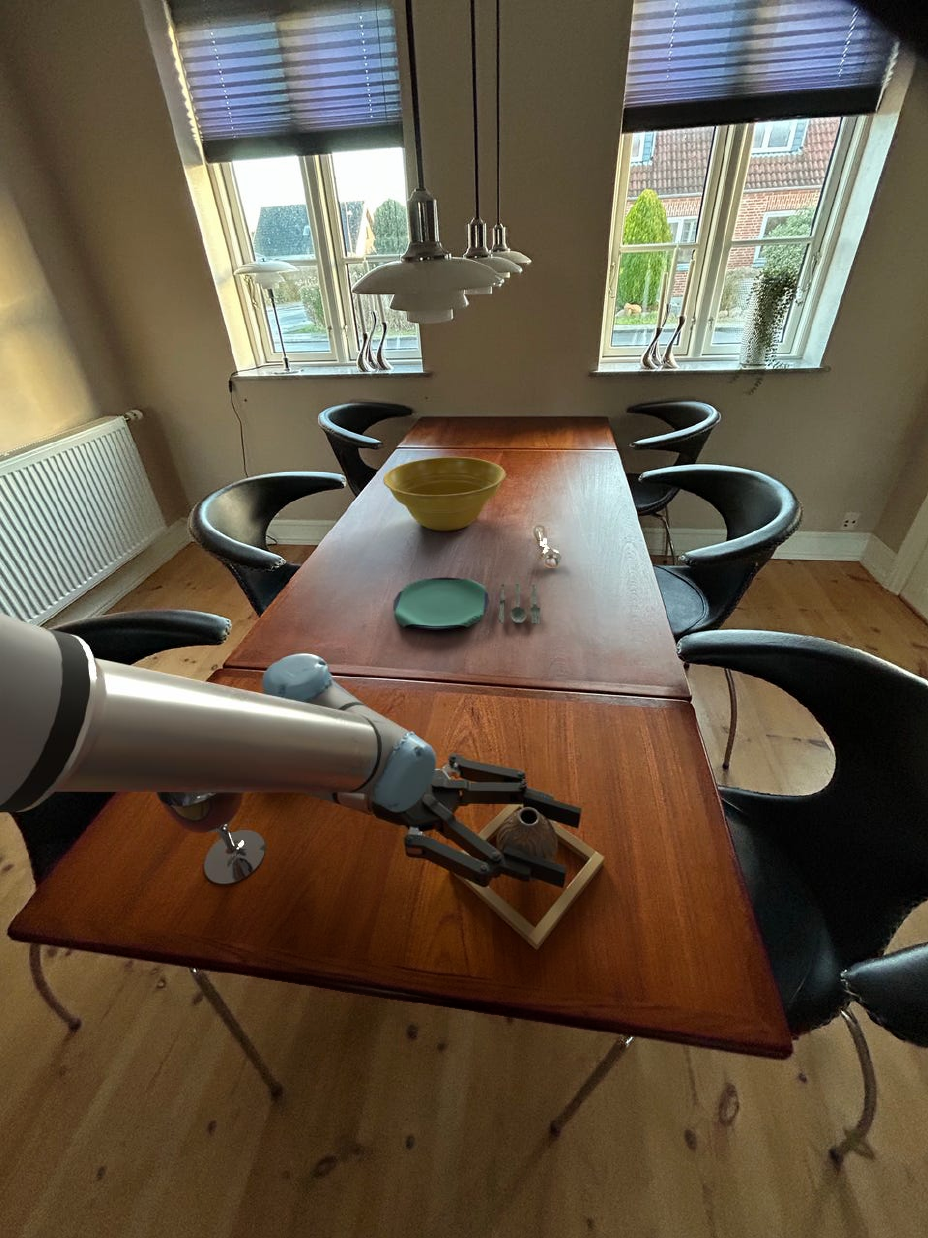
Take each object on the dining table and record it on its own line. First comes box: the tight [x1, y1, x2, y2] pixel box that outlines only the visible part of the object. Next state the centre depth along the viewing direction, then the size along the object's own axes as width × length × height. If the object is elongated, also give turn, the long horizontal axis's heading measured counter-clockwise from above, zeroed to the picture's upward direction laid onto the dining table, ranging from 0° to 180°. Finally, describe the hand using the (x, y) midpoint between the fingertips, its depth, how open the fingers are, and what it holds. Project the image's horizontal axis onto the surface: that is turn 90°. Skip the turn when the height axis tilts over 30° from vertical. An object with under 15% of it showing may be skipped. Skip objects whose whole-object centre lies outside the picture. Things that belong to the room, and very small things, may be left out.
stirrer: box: [532, 524, 562, 568], centre depth 130 cm, size 20×4×5 cm
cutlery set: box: [393, 576, 541, 631], centre depth 109 cm, size 20×30×2 cm, turn 86°
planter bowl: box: [382, 456, 506, 532], centre depth 143 cm, size 32×32×13 cm
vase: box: [495, 807, 559, 883], centre depth 59 cm, size 7×7×9 cm
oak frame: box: [452, 804, 605, 950], centre depth 62 cm, size 13×13×1 cm
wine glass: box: [155, 792, 266, 885], centre depth 61 cm, size 8×8×15 cm
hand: (572, 846), depth 57 cm, fingers closed on vase, 7 cm apart
